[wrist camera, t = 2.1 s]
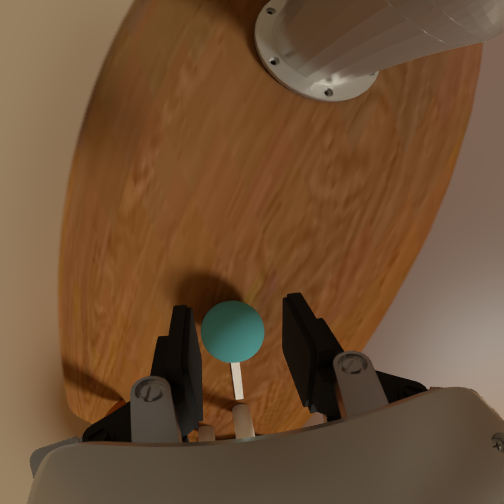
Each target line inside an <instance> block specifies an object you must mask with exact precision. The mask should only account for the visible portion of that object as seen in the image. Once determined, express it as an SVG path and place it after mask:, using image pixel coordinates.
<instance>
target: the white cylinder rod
mask: <svg viewBox="0 0 504 504" xmlns="http://www.w3.org/2000/svg"><path fill="white" fill-rule="evenodd" d="M198 439H199V442H205V441H215V431H214V428H213V427H212V426H208V425H204V426H200V427H199V429H198Z"/></svg>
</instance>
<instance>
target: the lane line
mask: <svg viewBox="0 0 504 504" xmlns="http://www.w3.org/2000/svg"><path fill="white" fill-rule="evenodd" d="M231 367H232V375H233V383H234V390H235V397H236V400H238V399H243V390H242V381H241V371H240V362H237V363H231Z"/></svg>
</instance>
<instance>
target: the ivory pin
mask: <svg viewBox="0 0 504 504" xmlns="http://www.w3.org/2000/svg"><path fill="white" fill-rule="evenodd" d="M232 412H233V420H234V427H235V434H236V439H239V438H247V437H255V433H254V428H253V423H252V418H251V413H250V408H249V406H248V405H246V404H238V405H235V406H234V407H233V408H232Z"/></svg>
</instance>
